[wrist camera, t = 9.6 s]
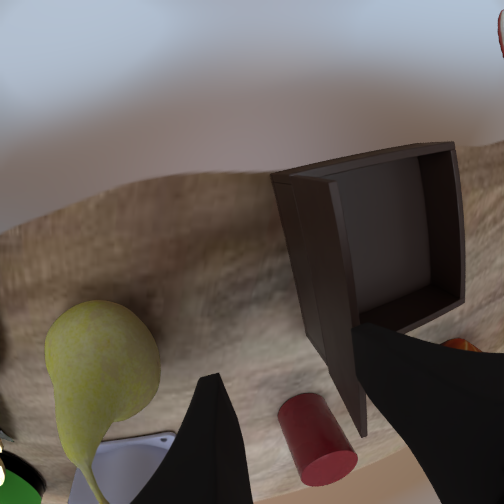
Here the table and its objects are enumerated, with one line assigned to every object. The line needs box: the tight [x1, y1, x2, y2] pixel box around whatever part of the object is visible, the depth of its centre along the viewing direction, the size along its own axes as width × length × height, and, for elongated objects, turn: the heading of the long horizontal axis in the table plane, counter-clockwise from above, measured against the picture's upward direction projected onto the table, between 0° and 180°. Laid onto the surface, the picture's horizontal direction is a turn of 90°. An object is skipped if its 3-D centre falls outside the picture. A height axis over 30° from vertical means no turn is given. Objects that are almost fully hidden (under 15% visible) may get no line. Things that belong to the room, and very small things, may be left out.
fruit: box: [45, 300, 161, 504], centre depth 13 cm, size 7×8×12 cm
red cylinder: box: [278, 393, 358, 486], centre depth 20 cm, size 4×4×6 cm
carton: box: [270, 141, 465, 366], centre depth 19 cm, size 11×11×4 cm
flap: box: [290, 175, 367, 438], centre depth 13 cm, size 5×11×1 cm
